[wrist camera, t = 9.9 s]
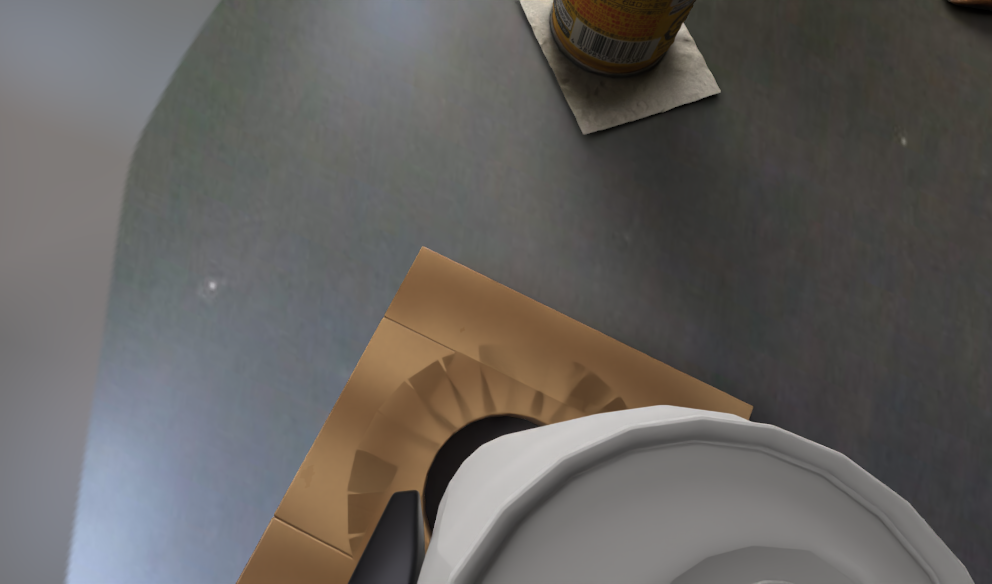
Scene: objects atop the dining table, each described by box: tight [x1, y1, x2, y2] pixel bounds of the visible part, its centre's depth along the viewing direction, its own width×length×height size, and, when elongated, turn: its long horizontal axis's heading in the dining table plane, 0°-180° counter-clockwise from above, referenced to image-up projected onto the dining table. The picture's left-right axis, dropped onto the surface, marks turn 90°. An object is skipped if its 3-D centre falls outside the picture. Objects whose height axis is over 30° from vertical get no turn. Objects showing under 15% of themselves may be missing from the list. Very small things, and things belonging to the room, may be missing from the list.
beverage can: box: [417, 405, 975, 584], centre depth 10 cm, size 5×5×12 cm
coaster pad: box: [236, 247, 753, 584], centre depth 21 cm, size 14×14×2 cm
